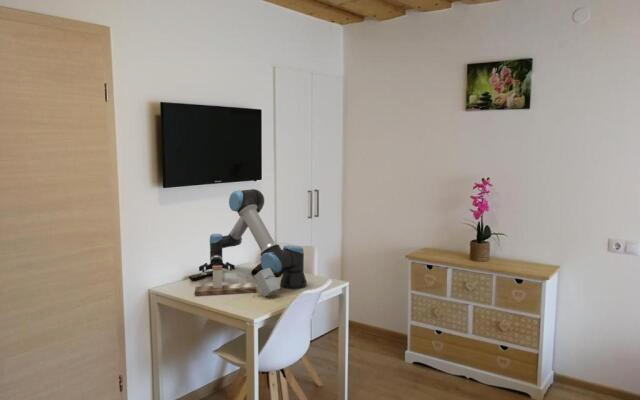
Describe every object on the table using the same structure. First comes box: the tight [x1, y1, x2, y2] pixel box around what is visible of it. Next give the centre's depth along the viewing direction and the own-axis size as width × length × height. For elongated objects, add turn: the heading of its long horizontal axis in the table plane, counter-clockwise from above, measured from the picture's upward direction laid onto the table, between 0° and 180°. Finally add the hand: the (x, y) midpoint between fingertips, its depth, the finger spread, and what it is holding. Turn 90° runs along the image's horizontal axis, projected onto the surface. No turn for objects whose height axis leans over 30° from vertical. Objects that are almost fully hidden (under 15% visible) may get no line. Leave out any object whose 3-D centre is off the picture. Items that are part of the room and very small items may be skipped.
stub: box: [212, 265, 223, 288], centre depth 279 cm, size 5×2×12 cm, turn 102°
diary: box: [250, 262, 283, 278], centre depth 325 cm, size 19×25×5 cm
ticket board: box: [194, 282, 258, 297], centre depth 281 cm, size 33×10×3 cm, turn 102°
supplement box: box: [253, 268, 281, 297], centre depth 273 cm, size 7×7×13 cm
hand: (217, 271), depth 288 cm, fingers open, 13 cm apart
